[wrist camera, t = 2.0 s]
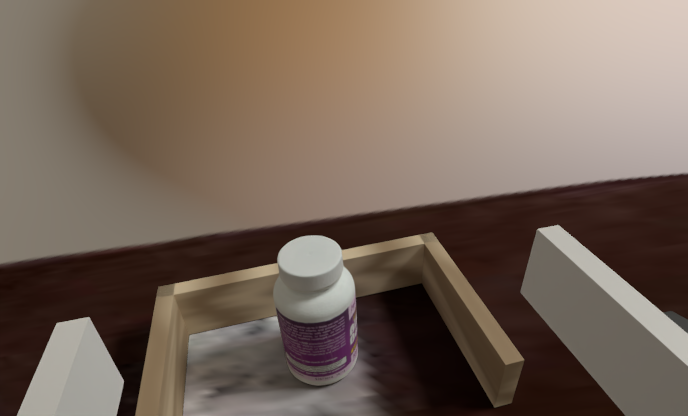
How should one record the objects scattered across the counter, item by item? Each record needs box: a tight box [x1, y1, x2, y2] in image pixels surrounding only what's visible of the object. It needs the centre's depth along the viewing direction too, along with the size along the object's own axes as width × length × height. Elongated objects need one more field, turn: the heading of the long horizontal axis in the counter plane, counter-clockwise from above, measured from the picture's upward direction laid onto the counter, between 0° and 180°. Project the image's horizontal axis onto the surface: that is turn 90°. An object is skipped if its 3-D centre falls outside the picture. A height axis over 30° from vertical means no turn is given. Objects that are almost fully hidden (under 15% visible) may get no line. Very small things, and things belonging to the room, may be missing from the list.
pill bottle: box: [273, 236, 358, 386], centre depth 28 cm, size 5×5×10 cm
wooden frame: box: [135, 232, 524, 416], centre depth 29 cm, size 22×13×4 cm, turn 104°
